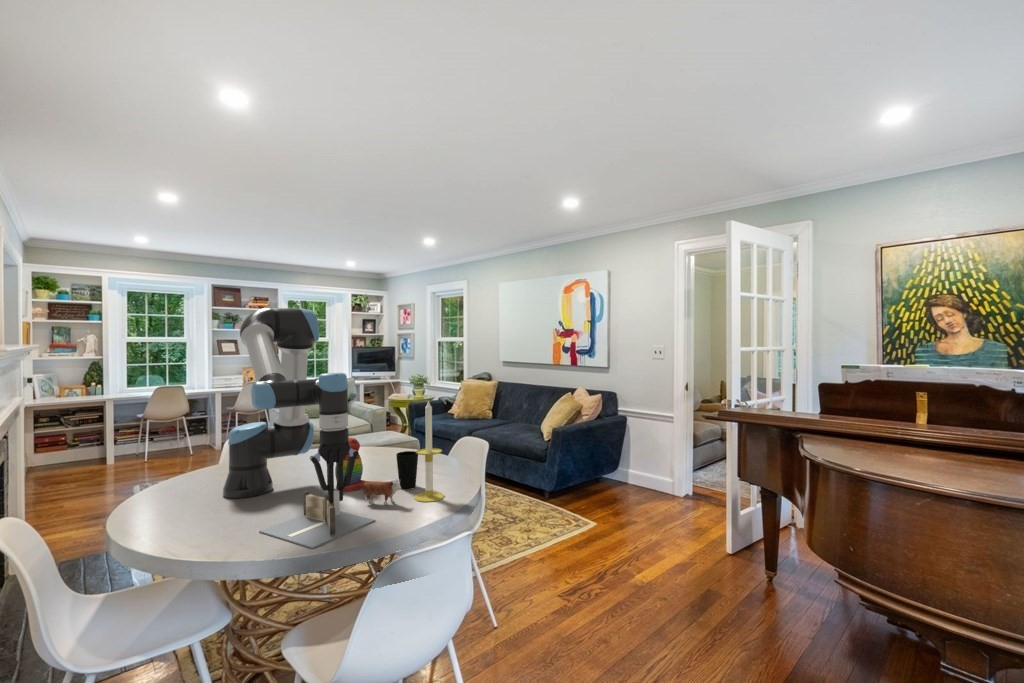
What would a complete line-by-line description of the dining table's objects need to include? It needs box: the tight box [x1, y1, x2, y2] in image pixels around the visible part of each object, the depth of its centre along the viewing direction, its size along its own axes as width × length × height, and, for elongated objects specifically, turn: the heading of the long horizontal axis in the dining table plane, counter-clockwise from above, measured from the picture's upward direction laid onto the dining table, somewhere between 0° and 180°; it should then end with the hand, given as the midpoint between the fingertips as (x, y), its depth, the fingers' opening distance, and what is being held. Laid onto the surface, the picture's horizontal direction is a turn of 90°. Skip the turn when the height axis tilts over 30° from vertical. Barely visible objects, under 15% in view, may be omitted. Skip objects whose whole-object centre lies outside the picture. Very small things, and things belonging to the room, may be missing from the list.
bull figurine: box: [362, 478, 402, 506], centre depth 151 cm, size 4×13×8 cm, turn 78°
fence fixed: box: [303, 490, 328, 522], centre depth 138 cm, size 11×2×7 cm, turn 60°
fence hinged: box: [327, 500, 335, 535], centre depth 129 cm, size 11×1×7 cm, turn 26°
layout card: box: [258, 510, 376, 550], centre depth 132 cm, size 22×21×1 cm
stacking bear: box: [334, 437, 366, 493], centre depth 168 cm, size 11×10×18 cm
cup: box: [395, 450, 419, 490], centre depth 168 cm, size 8×8×12 cm
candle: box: [413, 399, 445, 503], centre depth 157 cm, size 10×10×32 cm
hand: (335, 513), depth 131 cm, fingers closed
